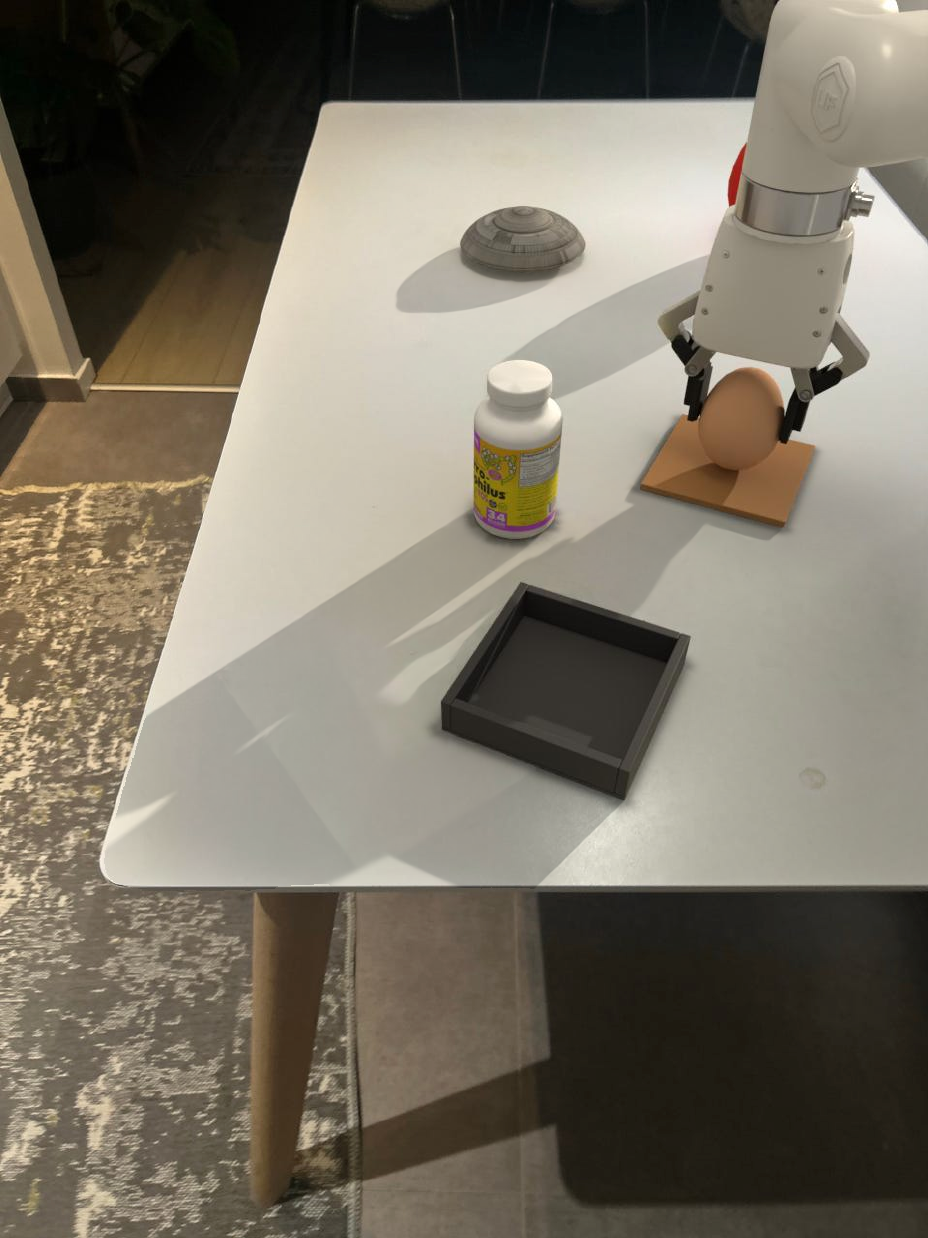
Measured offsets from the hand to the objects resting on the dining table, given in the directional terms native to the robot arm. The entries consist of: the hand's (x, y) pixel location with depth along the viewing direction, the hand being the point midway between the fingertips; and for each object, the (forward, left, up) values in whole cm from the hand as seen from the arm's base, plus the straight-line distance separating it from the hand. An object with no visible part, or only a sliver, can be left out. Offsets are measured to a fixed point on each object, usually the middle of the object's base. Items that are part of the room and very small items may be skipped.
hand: (740, 422), depth 76 cm
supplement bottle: (+14, +14, -5) cm, 20 cm away
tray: (+3, +30, -5) cm, 30 cm away
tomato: (+8, -48, -5) cm, 49 cm away
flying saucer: (+34, -33, -5) cm, 48 cm away
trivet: (0, 0, -5) cm, 5 cm away
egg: (0, 0, -4) cm, 4 cm away
